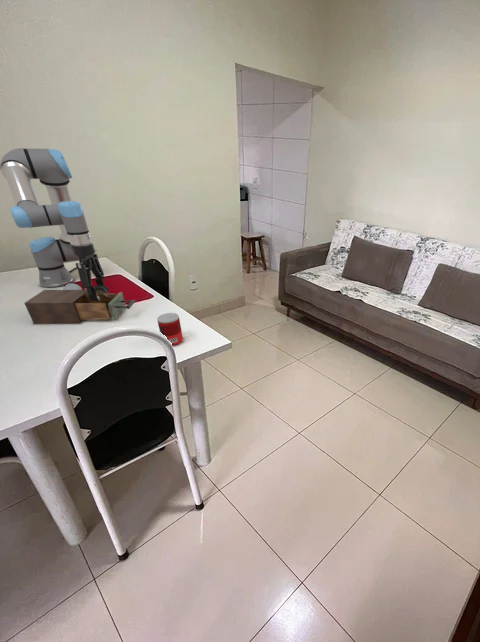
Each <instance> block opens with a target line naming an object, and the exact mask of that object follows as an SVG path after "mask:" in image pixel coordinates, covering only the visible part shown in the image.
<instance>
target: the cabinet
mask: <svg viewBox="0 0 480 642" xmlns="http://www.w3.org/2000/svg"><path fill="white" fill-rule="evenodd" d="M84 292H86V290H85V289H82V290H63V289H43V290H42V291H40V292H39V293H37V294H36V295H34V296H32V297H31V298H29V299H28V300H26V301H25V302H24V306H25V308H26V310H27V312H28V314H29V317H30V319H31V321H32V323H33V325H62V324H63V325H75V324H76V325H78V324H79V325H80V324H82V323H83V322H84V321H85V320H86V319H80V318H79V315H78V313H77V310H76V307H75V305H74V304H75V303H76V302H77V301H78V300H80V299H81V298H82V297H83V296H84V295H85V294H86V293H84ZM87 293H88V292H87Z"/></svg>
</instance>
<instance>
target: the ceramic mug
mask: <svg viewBox="0 0 480 642" xmlns="http://www.w3.org/2000/svg"><path fill="white" fill-rule="evenodd" d="M62 290H83V287H82V286H80V285H78V284H76V283H74V282H72V283H69V284H67V285H64V286H63V289H62Z"/></svg>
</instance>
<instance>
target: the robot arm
mask: <svg viewBox="0 0 480 642" xmlns="http://www.w3.org/2000/svg"><path fill="white" fill-rule="evenodd" d="M0 171H1V175H2V176H3V177H4V179H5V180H6V181H7V183H8V186H9V187H8V188H9V190H10V192H11V195H12V198H13V201H14V205H15V206H11V207H10V208H9V211H10V213H11V216H12V219H13V221H14V224H15V225H16V226H17V227H18V228H20V229H26V228H29V229H32V228H40V227H51V226H53V227H54V226H58V228H59V230H60V233H59V235H58V237H59V238H58V239H57V238H55V237H54V236H43V237H39V238H35V239H33V240H31V241H30V242H29V244H28V247H29V250H30V253H31V254H32V257H33V259H34V262H35V265H36V266H37V269H38V282H39V285H40V286H41V287H43V288H59V287H65V285H67V284H69V283H74V277H73V275H72V274H71V273H72V272H73V271H75V270H77V272H78V276H79V277H78V278H79V281H80V284H81V288H82V289H83V288H84V289H85V288H86V289H87V292H88V295H89V297H90V300H91V302H98V298H97V295H96V292H95V289H94V286H95V285H93V281H92V274H93V276H94V277H95V284H96V286H97V285H104V286H105V282H104V280H105V273H104V270H103V268H102V265H101V263H100V261H99V256H98V254H97V253H96V249H95V246H94V244H93V240H92V235H91V234H90V230H89V228H88V224H87V220H86V216H85V211H84V209H83V208H82V205H81V203H80V202H79V201H75V200H72V198H71V194H70V191H69V187H68V186H69V185H70V183H71V182H70V180H71V179H72V178H73V176H72V172H71V169H70V168H69V166H68V163H67V161H66V159H65V157H64V155H63V153H62V152H61V150H59V149H55V148H23V147H20V148H19V147H17V148H14V149H11V150H9V151H7V153H5V154H4V155H3V156H2V158H1V160H0ZM31 180H39V183H40V184H41V185H43V186H45V188H46V191H47V195H48V197H49V200H50V203H51V204H40V203H39V200H38V197H37V195H36V193H35V190H34V186H33V184H32V181H31ZM76 261H78V262H76ZM69 262H75V266H76V267H74V268H72V269H70V270H69V271H68V269H67V268H66V265H65V264H64V263H69Z"/></svg>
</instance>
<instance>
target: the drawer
mask: <svg viewBox="0 0 480 642" xmlns="http://www.w3.org/2000/svg"><path fill="white" fill-rule="evenodd" d="M107 294H108V295H110V296H111V297H107V296H103V295H98V297H99V298H100V301H99V300H98V302H91V300H88V298H87V296H86V295H84V296H83V297H82V298H81V299H80V300H78V301H77V302H76V303H75V304H74V305H75V307H76V310H77V313H78V315H79V318H80V319H85V320H112V321H113V322H114V321H117V320H118V319H119V317H120V316H121V315H122V314H123V313H124V312H125V310H126V309H127V310H130V309H131V308H132V307H133V305H134V304H135V303H136V300H135V299H131V300H125V298H124V294H123V291H120V292H118V293H117V294H116V293H107ZM126 303H127V305H126Z"/></svg>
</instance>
